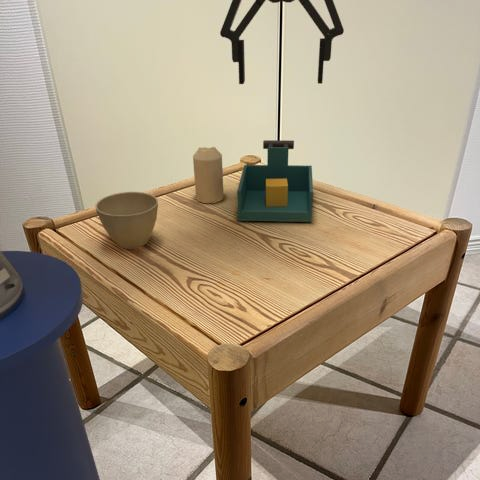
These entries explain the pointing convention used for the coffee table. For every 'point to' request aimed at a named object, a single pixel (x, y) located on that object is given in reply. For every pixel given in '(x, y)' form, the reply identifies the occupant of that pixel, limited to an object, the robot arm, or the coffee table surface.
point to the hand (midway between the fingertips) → (280, 82)
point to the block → (276, 192)
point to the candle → (208, 175)
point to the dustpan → (277, 167)
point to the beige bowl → (128, 217)
